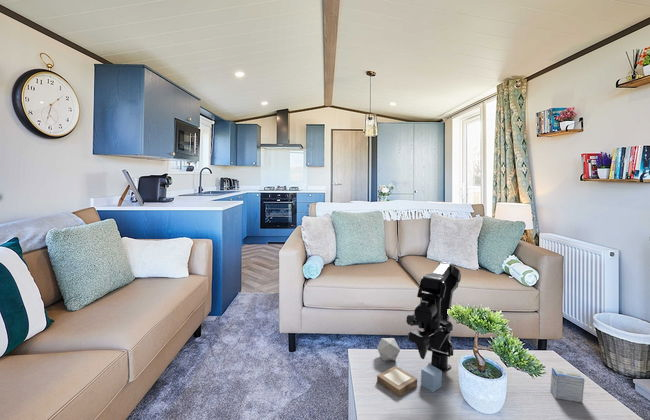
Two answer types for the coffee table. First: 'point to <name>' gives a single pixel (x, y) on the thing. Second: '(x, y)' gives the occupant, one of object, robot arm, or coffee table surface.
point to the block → (431, 377)
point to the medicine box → (567, 385)
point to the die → (388, 349)
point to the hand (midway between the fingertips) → (430, 354)
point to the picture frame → (397, 380)
